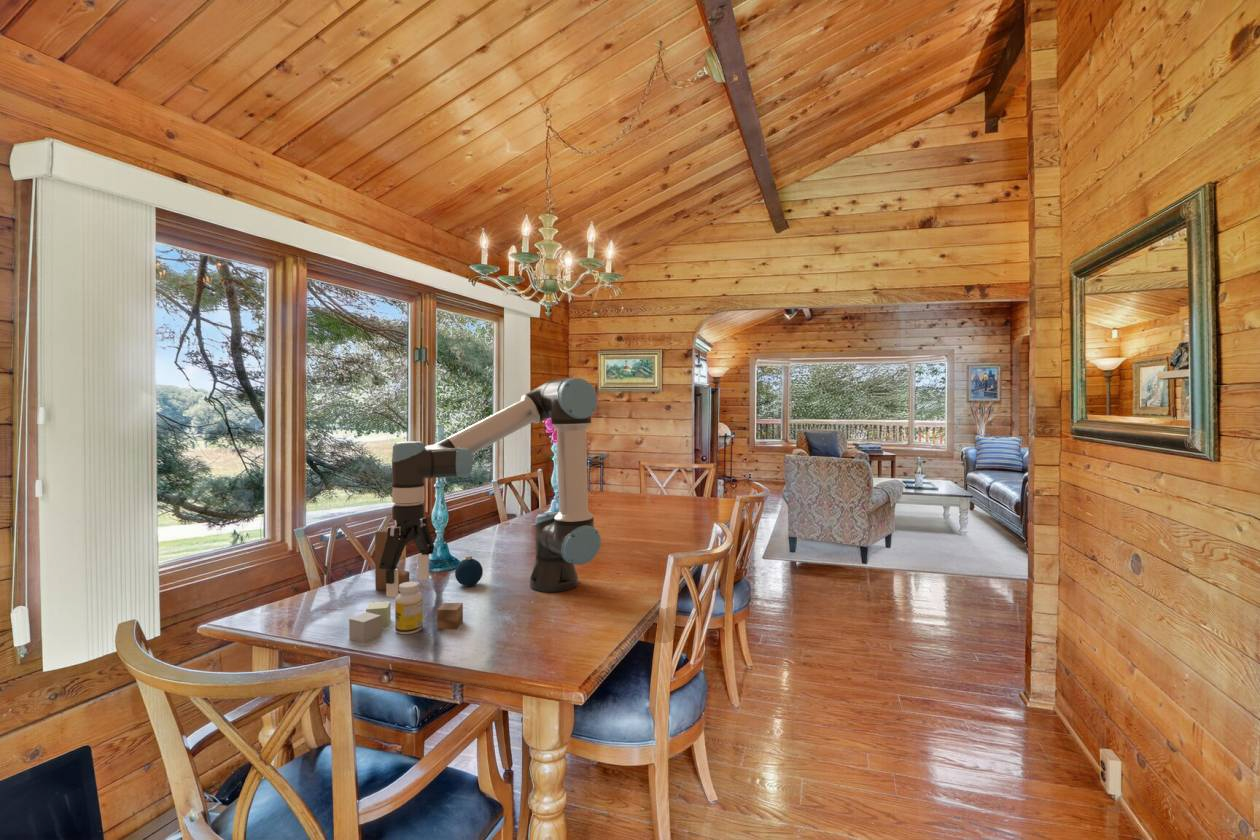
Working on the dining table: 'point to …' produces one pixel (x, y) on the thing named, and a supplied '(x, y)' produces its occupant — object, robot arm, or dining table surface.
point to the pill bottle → (408, 609)
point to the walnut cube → (449, 615)
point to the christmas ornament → (468, 571)
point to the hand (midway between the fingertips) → (408, 587)
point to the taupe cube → (365, 627)
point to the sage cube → (381, 611)
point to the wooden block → (380, 573)
